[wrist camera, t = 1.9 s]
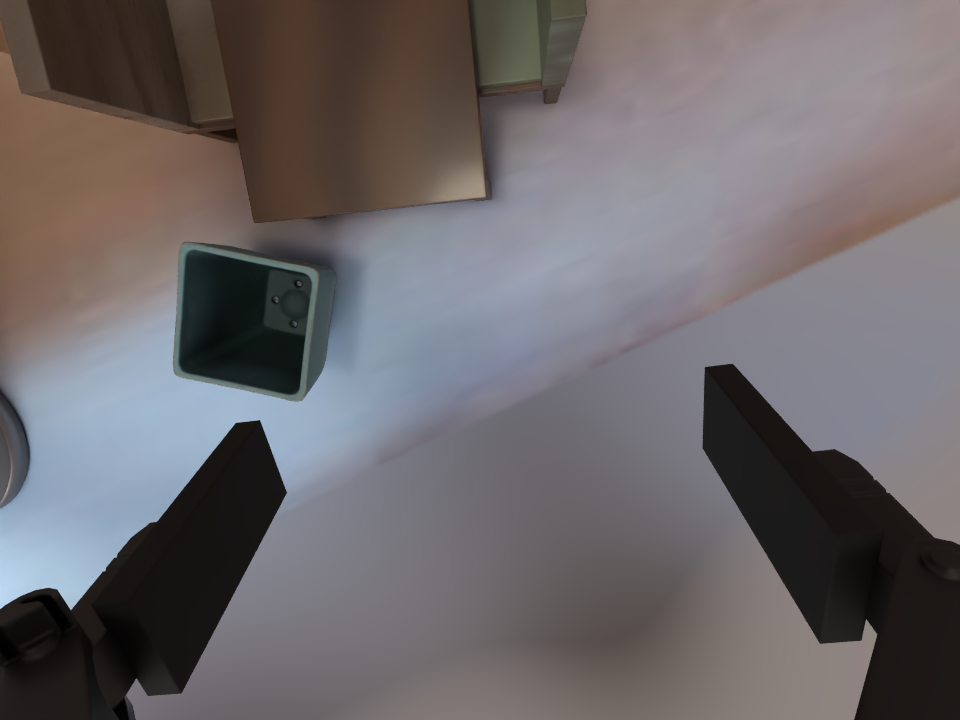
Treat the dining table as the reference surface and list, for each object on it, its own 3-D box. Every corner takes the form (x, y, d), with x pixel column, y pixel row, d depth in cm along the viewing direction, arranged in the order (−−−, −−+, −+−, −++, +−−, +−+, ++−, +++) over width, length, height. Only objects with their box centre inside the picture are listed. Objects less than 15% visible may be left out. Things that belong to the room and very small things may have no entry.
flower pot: (361, 258, 42) (319, 269, 33) (346, 367, 44) (303, 404, 35) (249, 235, 42) (178, 239, 33) (240, 344, 44) (171, 376, 36)
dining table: (309, 221, 41) (253, 223, 33) (257, -88, 37) (174, -182, 28) (495, 201, 40) (487, 198, 31) (465, -122, 35) (447, -233, 26)
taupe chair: (315, 7, 38) (148, -162, 21) (335, 131, 40) (196, 69, 23) (205, 23, 38) (-42, -127, 22) (229, 144, 40) (20, 93, 24)
